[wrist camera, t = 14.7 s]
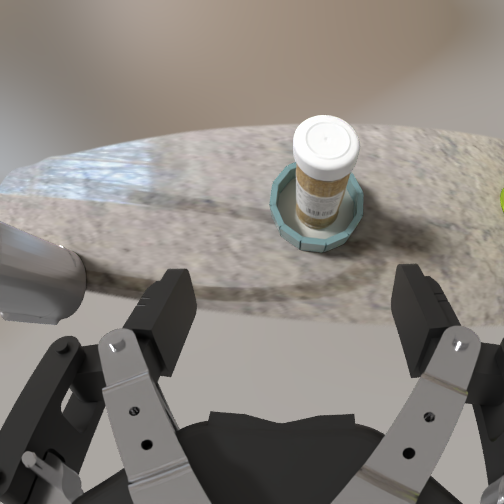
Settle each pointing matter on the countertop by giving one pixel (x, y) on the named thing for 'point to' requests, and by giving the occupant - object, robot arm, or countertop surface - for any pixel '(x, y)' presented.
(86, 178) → the countertop surface
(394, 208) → the countertop surface
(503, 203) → the soap dispenser
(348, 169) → the sprinkles bottle
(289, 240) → the teal bowl
